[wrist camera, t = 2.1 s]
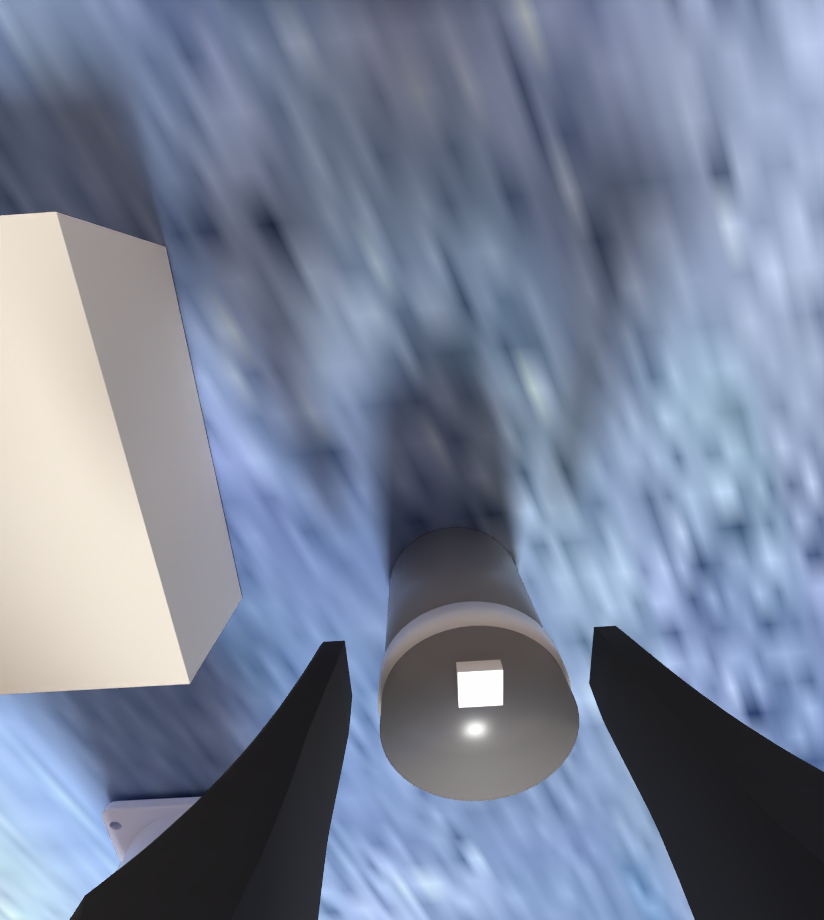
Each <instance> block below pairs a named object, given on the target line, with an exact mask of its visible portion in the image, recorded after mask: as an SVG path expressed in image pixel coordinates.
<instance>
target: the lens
mask: <svg viewBox="0 0 824 920" xmlns="http://www.w3.org/2000/svg"><path fill="white" fill-rule="evenodd" d="M378 709H379V715H380V738H381V743H382V747H383V750H384V752H385V755H386V757H387V758H388V760H389V762H390V764H391V765H392V766H393V767H394V769H395V770H396V771H397V772H398V773H399V774H400V775H401V776H402V777H403V778H404V779H406V780H407V781H409V782H410V783H411V784H413V785H414V786H416V787H418V788H420V789H422V790H424V791H426V792H429V793H431V794H433V795H437V796H440V797H444V798H449V799H454V800H463V801H484V800H494V799H499V798H504V797H508V796H511V795H514V794H517V793H520V792H522V791H525V790H527V789H529V788H531V787H533V786H535V785H537V784H539V783H540V782H542V781H543V780H545V779H546V778H548V777H549V776H550V775H551V774H552V773H554V772H555V771H556V770H557V769H558V768H559V767H560V766H561V765H562V763H563V762H564V761H565V760H566V758H567V757H568V755H569V754H570V752H571V750H572V748H573V746H574V744H575V741H576V738H577V735H578V729H579V713H578V707H577V704H576V701H575V698H574V696H573V694H572V691H571V686H570V680H569V676H568V674H567V671H566V668H565V666H564V664H563V662H562V659H561V657H560V655H559V653H558V651H557V649H556V646H555V644H554V643H553V641H552V639H551V637H550V636H549V635H548V633H547V632H546V631H545V630H544V628H543V626H542V624H541V622H540V620H539V617H538V615H537V613H536V611H535V609H534V606H533V604H532V602H531V600H530V597H529V595H528V593H527V591H526V588H525V586H524V584H523V582H522V579H521V577H520V575H519V573H518V570H517V568H516V566H515V564H514V561H513V559H512V558H511V556H510V554H509V553H508V551H507V550H506V549H505V548H504V547H503V546H502V545H501V544H500V543H499V542H498V541H497V540H495V539H494V538H493V537H491V536H489V535H487V534H485V533H483V532H480V531H477V530H474V529H469V528H462V527H450V528H442V529H438V530H434V531H431V532H429V533H426V534H424V535H422V536H420V537H418V538H417V539H416V540H414V541H413V542H411V543H410V544H409V545H408V546H407V547H406V548H405V549H404V550H403V551H402V552H401V554H400V555H399V557H398V558H397V560H396V562H395V564H394V566H393V569H392V572H391V578H390V588H389V603H388V617H387V631H386V645H385V654H384V657H383V660H382V663H381V669H380V679H379V691H378Z"/></svg>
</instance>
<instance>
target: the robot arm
mask: <svg viewBox="0 0 824 920" xmlns="http://www.w3.org/2000/svg"><path fill="white" fill-rule="evenodd" d="M589 684H590V687H591V689H592V692H593V695H594V698H595V700H596V703H597V706H598V708H599V711H600V713H601V716H602V718H603V721H604V723H605V725H606V727H607V729H608V731H609V733H610V735H611V737H612V739H613V741H614V743H615V745H616V747H617V749H618V751H619V753H620V755H621V757H622V759H623V761H624V763H625V765H626V767H627V768H628V770H629V772H630V774H631V776H632V778H633V780H634V782H635V784H636V786H637V788H638V790H639V792H640V794H641V796H642V798H643V800H644V802H645V804H646V805H647V807H648V809H649V811H650V814H651V816H652V818H653V820H654V822H655V824H656V826H657V828H658V831H659V833H660V835H661V838H662V840H663V842H664V845H665V847H666V850H667V852H668V854H669V857H670V859H671V862H672V864H673V866H674V869H675V871H676V874H677V876H678V878H679V881H680V883H681V886H682V888H683V891H684V893H685V896H686V898H687V901H688V904H689V906H690V909H691V911H692V914H693V916H694V919H695V920H824V772H823V771H821V770H819V769H817V768H816V767H814V766H812V765H810V764H809V763H807V762H805V761H803V760H802V759H800V758H798V757H796V756H795V755H793V754H791V753H790V752H788V751H786V750H785V749H783V748H781V747H780V746H778V745H776V744H775V743H773V742H771V741H770V740H768V739H767V738H765V737H764V736H762V735H760V734H759V733H757V732H756V731H754V730H753V729H751V728H749V727H748V726H746V725H745V724H743V723H742V722H740V721H739V720H737V719H736V718H734V717H733V716H731V715H730V714H728V713H727V712H726V711H724V710H723V709H721V708H720V707H719V706H717V705H716V704H714V703H713V702H712V701H710V700H709V699H707V698H706V697H705V696H703V695H702V694H701V693H699V692H698V691H697V690H695V689H694V688H693V687H691V686H690V685H689V684H687V683H686V682H685V681H683V680H682V679H681V678H679V677H678V676H677V675H676V674H674V673H673V672H672V671H671V670H669V669H668V668H667V667H665V666H664V665H663V664H662V663H661V662H659V661H658V660H657V659H656V658H654V657H653V656H652V655H651V654H649V653H648V652H647V651H646V650H645V649H643V648H642V647H641V646H640V645H638V644H637V643H636V642H635V641H634V640H632V639H631V638H630V637H629V636H628V635H626V634H625V633H624V632H623V631H621V630H620V629H619V628H618V627H616V626H606V627H594V635H593V646H592V658H591V669H590V681H589ZM351 703H352V691H351V684H350V676H349V669H348V662H347V654H346V647H345V641H331V642H323V643H322V644H321V645H320V647H319V649H318V650H317V652H316V654H315V655H314V657H313V658H312V660H311V662H310V663H309V665H308V666H307V668H306V669H305V671H304V673H303V674H302V676H301V677H300V679H299V680H298V682H297V683H296V684H295V686H294V687H293V689H292V690H291V692H290V693H289V694H288V696H287V697H286V699H285V700H284V702H283V703H282V704H281V706H280V707H279V709H278V710H277V711H276V712H275V714H274V715H273V716H272V718H271V719H270V720H269V721H268V723H267V724H266V725H265V727H264V728H263V729H262V731H261V732H260V733H259V734H258V736H257V737H256V738H255V739H254V740H253V742H252V743H251V744H250V745H249V746H248V747H247V749H246V750H245V751H244V752H243V753H242V754H241V756H240V757H239V758H238V759H237V760H236V761H235V762H234V763H233V764H232V766H231V767H230V768H229V769H228V770H227V771H226V772H225V773H224V774H223V775H222V776H221V777H220V778H219V779H218V780H217V781H216V782H215V783H214V785H213V786H212V787H211V788H210V789H209V790H208V791H207V792H206V793H205V794H204V795H203V796H202V797H183V798H164V799H146V800H127V801H114V802H110V803H109V804H107V806H106V808H105V809H104V811H103V813H102V819H103V821H104V824H105V826H106V828H107V831H108V833H109V836H110V838H111V841H112V843H113V845H114V848H115V850H116V853H117V855H118V857H119V860H120V862H121V863H120V865H119V867H118V869H117V871H116V872H115V873H113V874H112V875H111V876H110V877H108V878H107V879H106V880H105V881H103V882H102V883H101V884H100V885H98V886H97V887H96V888H94V889H93V890H92V891H90V892H89V893H88V894H87V895H85V896H84V898H83V900H82V901H81V903H80V904H79V906H78V908H77V909H76V911H75V912H74V914H73V915H72V917H71V918H70V920H318V914H319V905H320V896H321V888H322V880H323V872H324V864H325V855H326V847H327V841H328V835H329V829H330V824H331V819H332V814H333V809H334V804H335V799H336V794H337V789H338V784H339V779H340V774H341V769H342V765H343V759H344V754H345V749H346V744H347V739H348V734H349V724H350V714H351Z"/></svg>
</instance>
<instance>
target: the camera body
mask: <svg viewBox="0 0 824 920" xmlns="http://www.w3.org/2000/svg"><path fill="white" fill-rule="evenodd" d="M241 599H242V595H241V590H240V586H239V581H238V577H237V572H236V567H235V563H234V558H233V554H232V549H231V544H230V540H229V535H228V531H227V526H226V521H225V517H224V512H223V508H222V503H221V498H220V494H219V489H218V485H217V480H216V476H215V471H214V466H213V462H212V457H211V453H210V448H209V443H208V439H207V434H206V430H205V425H204V420H203V416H202V411H201V407H200V402H199V397H198V393H197V388H196V384H195V379H194V375H193V370H192V365H191V361H190V356H189V352H188V347H187V342H186V338H185V333H184V329H183V324H182V319H181V315H180V310H179V306H178V301H177V296H176V292H175V287H174V283H173V278H172V273H171V269H170V264H169V260H168V255H167V251H166V247H164V246H161V245H158V244H155V243H152V242H149V241H146V240H143V239H140V238H136V237H133V236H130V235H127V234H124V233H121V232H118V231H115V230H112V229H108V228H105V227H102V226H99V225H96V224H93V223H90V222H87V221H84V220H80V219H77V218H74V217H71V216H68V215H65V214H62V213H59V212H45V213H31V214H16V215H1V216H0V695H1V694H19V693H37V692H54V691H72V690H90V689H108V688H125V687H143V686H161V685H178V684H190V683H191V681H192V680H193V678H194V676H195V675H196V673H197V671H198V670H199V668H200V666H201V665H202V663H203V662H204V660H205V658H206V657H207V655H208V653H209V652H210V650H211V648H212V647H213V645H214V643H215V642H216V640H217V638H218V637H219V635H220V634H221V632H222V630H223V629H224V627H225V625H226V624H227V622H228V620H229V619H230V617H231V615H232V614H233V612H234V610H235V609H236V607H237V606H238V604H239V602H240V601H241Z"/></svg>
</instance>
